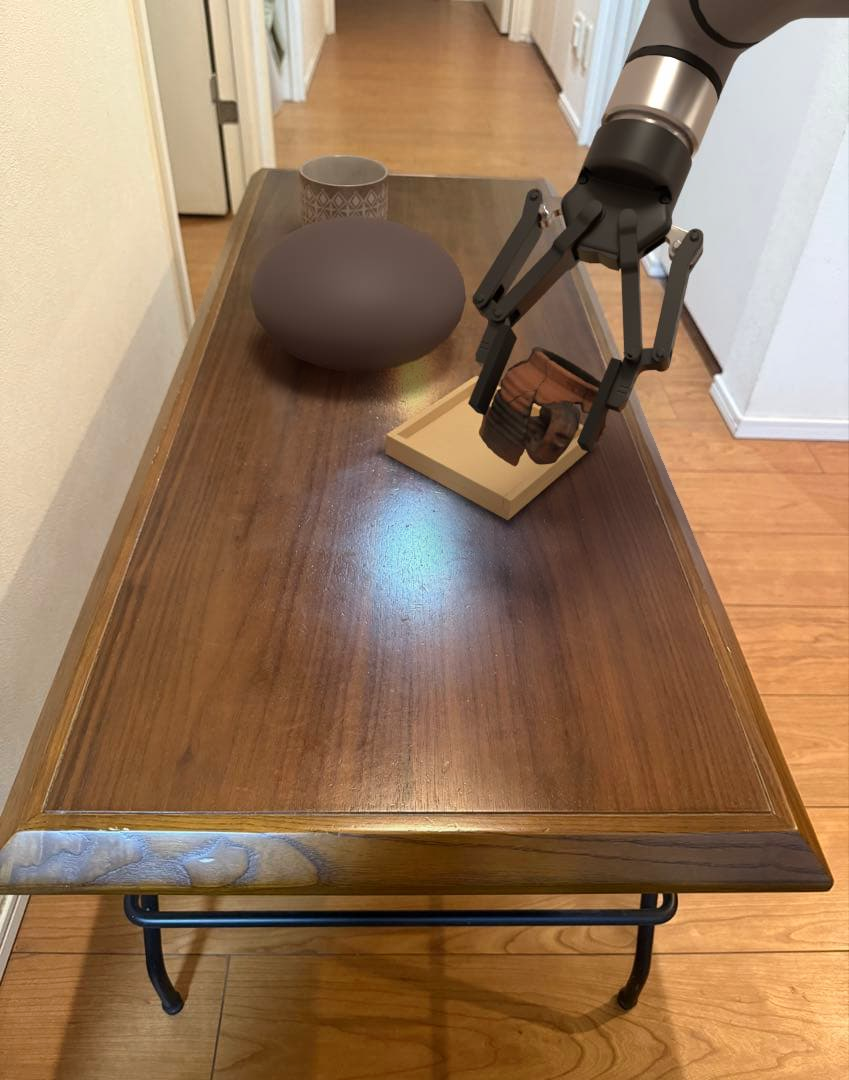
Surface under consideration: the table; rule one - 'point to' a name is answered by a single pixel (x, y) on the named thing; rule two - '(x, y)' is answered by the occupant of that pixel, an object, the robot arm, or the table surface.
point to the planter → (342, 188)
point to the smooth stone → (358, 294)
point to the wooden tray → (472, 455)
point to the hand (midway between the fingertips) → (529, 427)
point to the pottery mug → (558, 418)
